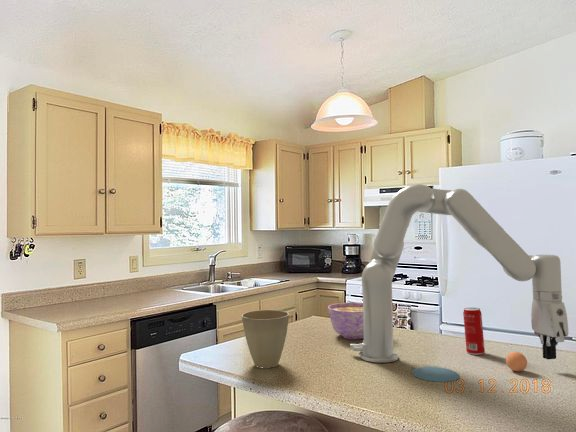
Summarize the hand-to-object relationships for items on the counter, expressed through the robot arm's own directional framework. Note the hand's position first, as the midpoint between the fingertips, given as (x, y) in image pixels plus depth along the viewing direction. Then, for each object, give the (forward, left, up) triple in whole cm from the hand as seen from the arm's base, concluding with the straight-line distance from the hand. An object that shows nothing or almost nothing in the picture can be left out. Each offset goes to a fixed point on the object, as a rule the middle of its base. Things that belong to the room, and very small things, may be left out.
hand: (549, 358), depth 134 cm
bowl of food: (-59, +33, -4) cm, 67 cm away
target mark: (-34, -8, -4) cm, 35 cm away
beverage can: (-18, +16, -4) cm, 24 cm away
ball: (-10, -2, -1) cm, 10 cm away
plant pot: (-85, -7, -4) cm, 85 cm away
